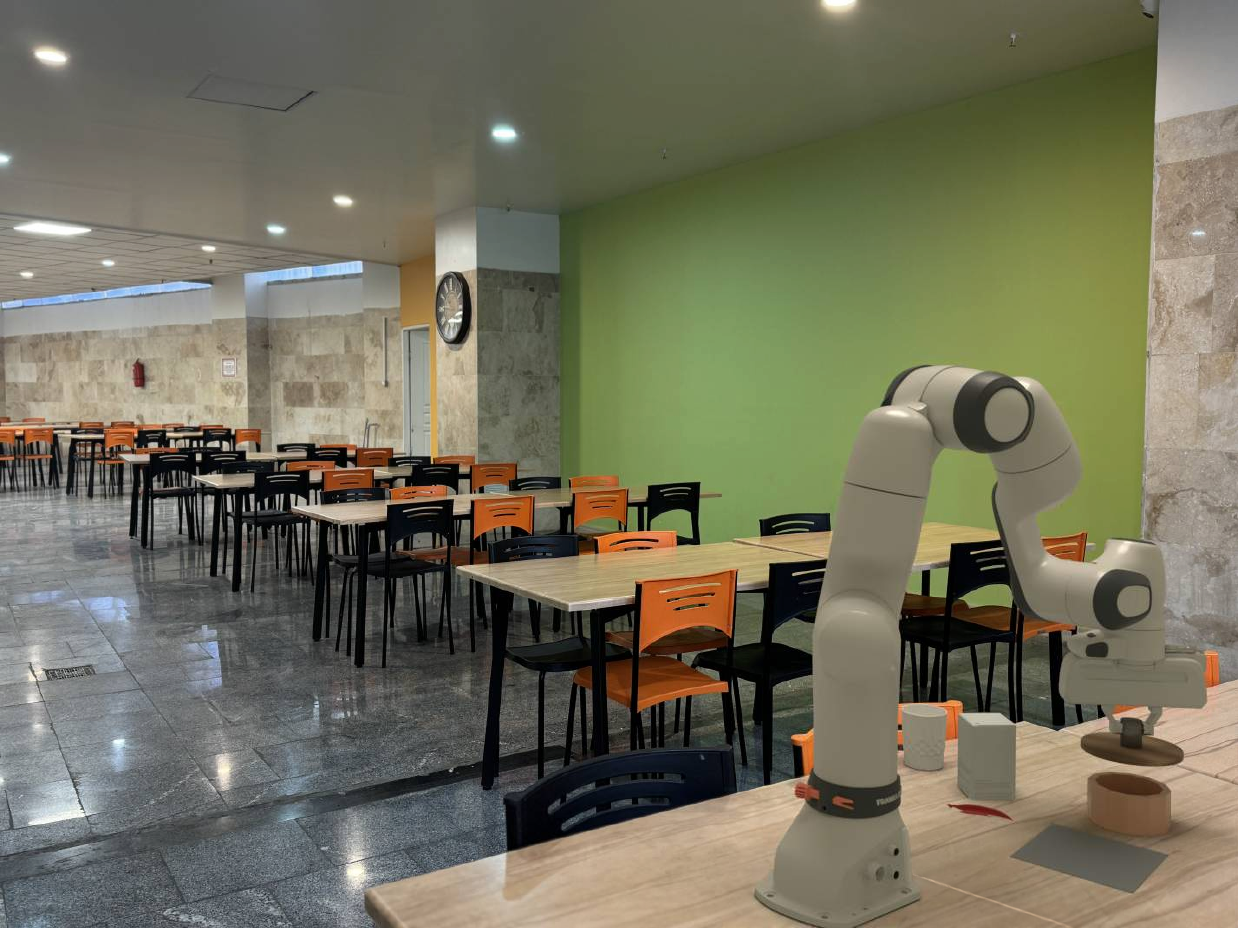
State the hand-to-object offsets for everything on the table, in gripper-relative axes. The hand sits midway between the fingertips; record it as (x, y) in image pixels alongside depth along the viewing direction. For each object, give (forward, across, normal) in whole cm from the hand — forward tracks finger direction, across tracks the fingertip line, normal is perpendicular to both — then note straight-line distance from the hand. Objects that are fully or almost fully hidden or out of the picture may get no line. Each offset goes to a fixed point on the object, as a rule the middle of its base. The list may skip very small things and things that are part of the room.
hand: (1131, 733), depth 151 cm
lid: (+3, 0, 0) cm, 3 cm away
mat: (+14, +10, +14) cm, 22 cm away
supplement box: (+14, +20, -9) cm, 26 cm away
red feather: (+14, +22, +1) cm, 26 cm away
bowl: (+14, 0, 0) cm, 14 cm away
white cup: (+14, +28, -22) cm, 38 cm away
